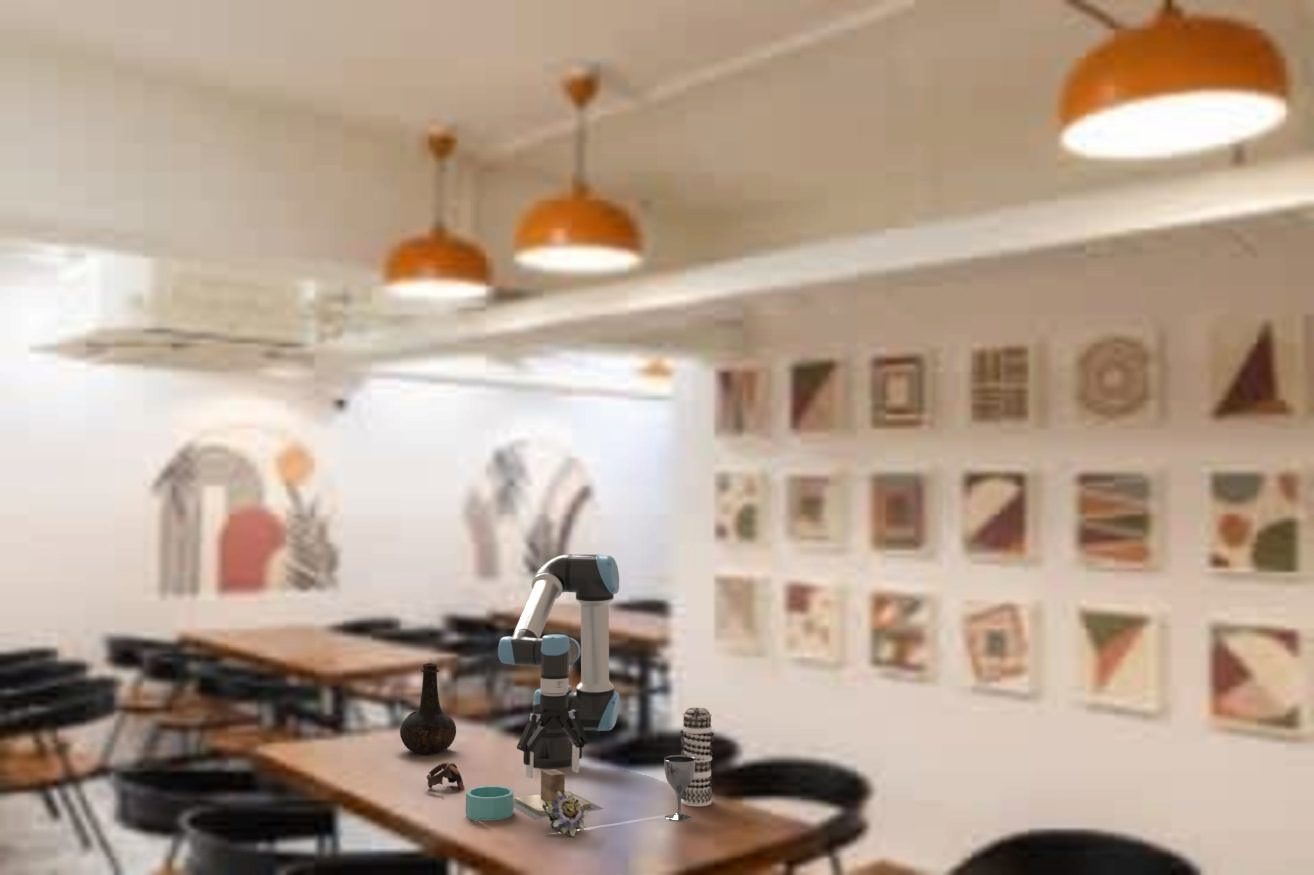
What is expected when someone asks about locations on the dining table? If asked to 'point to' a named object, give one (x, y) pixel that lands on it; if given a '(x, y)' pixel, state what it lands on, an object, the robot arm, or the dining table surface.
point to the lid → (548, 792)
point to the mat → (536, 816)
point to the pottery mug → (445, 775)
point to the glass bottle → (428, 720)
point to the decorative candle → (698, 755)
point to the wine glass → (679, 780)
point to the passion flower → (566, 813)
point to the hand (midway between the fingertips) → (552, 774)
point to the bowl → (489, 803)
